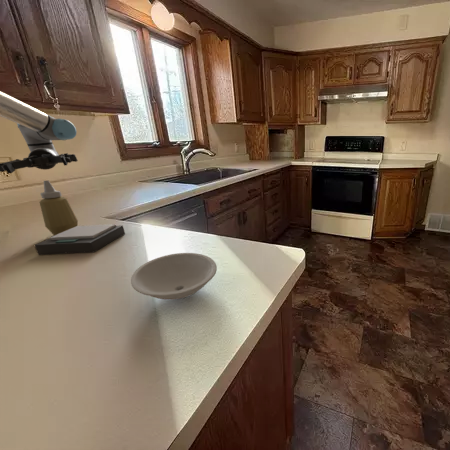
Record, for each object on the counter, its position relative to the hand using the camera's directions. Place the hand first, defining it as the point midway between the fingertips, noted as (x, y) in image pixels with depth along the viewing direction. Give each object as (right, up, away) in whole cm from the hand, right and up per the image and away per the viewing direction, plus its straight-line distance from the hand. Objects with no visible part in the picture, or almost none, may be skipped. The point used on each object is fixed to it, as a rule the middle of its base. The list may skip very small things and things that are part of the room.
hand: (36, 165), depth 80 cm
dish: (+63, -33, -31) cm, 78 cm away
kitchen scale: (+21, -25, -6) cm, 34 cm away
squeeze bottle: (+7, -23, +3) cm, 24 cm away
